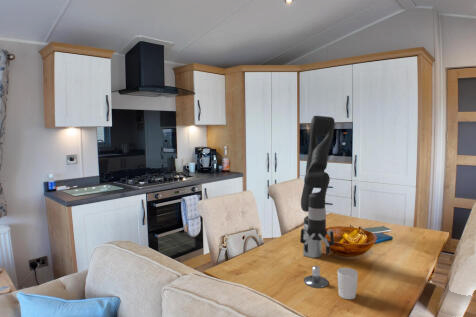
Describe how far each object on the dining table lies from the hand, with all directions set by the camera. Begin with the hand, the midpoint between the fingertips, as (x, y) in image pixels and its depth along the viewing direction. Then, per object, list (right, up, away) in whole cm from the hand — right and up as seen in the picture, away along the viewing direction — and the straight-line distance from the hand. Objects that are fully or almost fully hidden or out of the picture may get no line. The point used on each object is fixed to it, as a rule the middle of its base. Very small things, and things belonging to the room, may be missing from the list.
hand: (317, 253), depth 141 cm
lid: (0, -14, +2) cm, 14 cm away
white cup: (+10, -14, -10) cm, 20 cm away
